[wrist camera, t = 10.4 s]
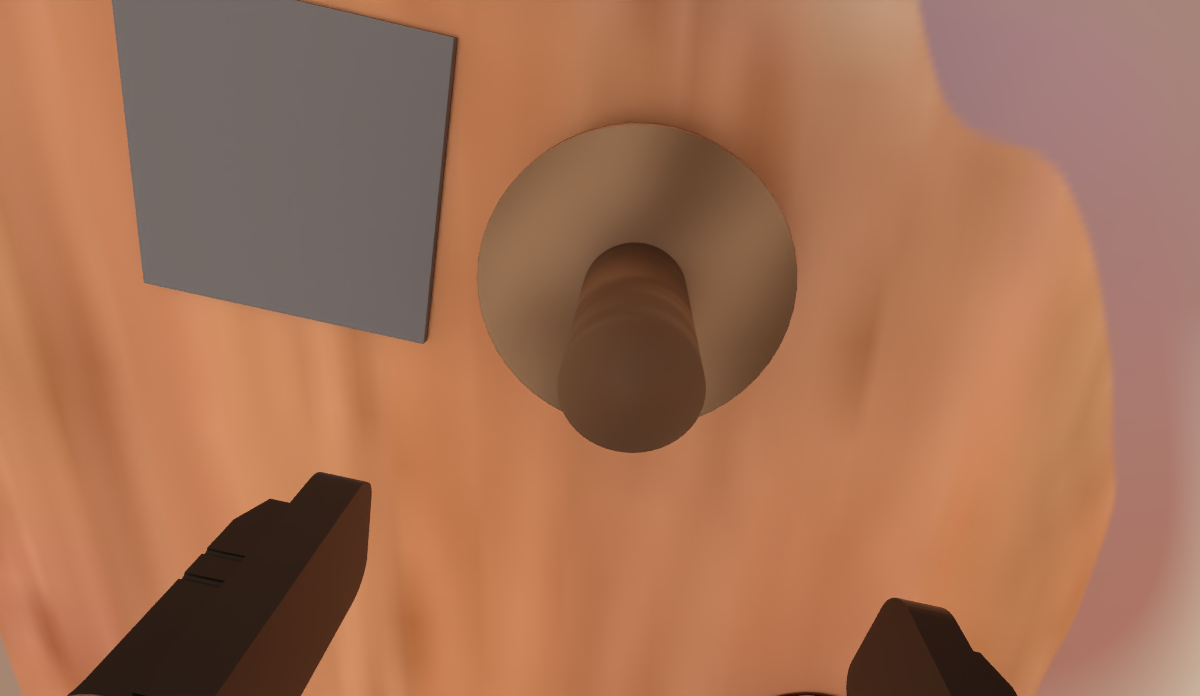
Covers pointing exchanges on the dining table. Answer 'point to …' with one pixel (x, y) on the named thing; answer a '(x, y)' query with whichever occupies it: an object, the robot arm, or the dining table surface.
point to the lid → (636, 281)
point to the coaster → (287, 156)
